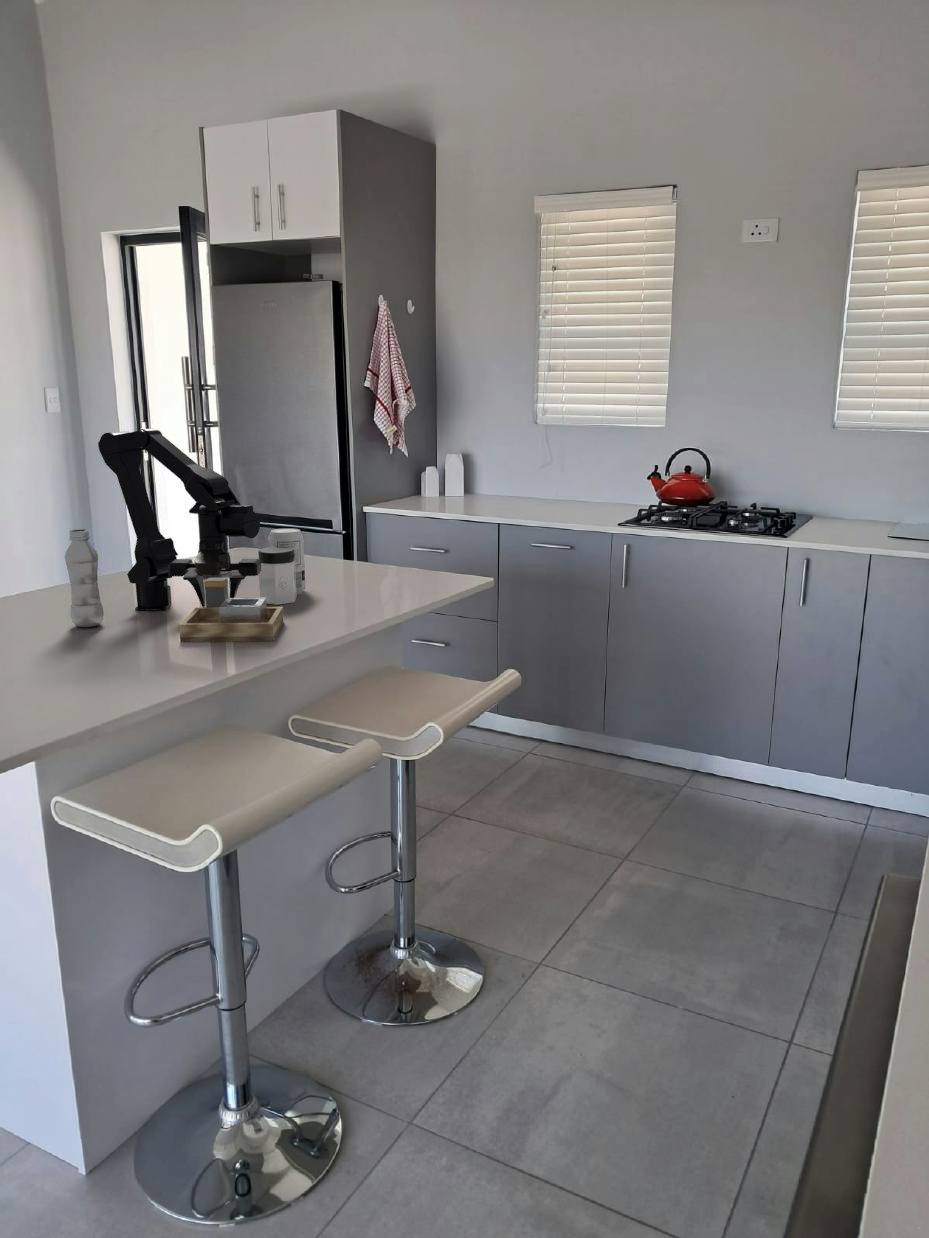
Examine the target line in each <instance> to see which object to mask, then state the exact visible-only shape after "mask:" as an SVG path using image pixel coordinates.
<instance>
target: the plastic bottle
mask: <svg viewBox="0 0 929 1238" xmlns="http://www.w3.org/2000/svg"><path fill="white" fill-rule="evenodd" d="M89 540H90V533H89V529H86V528H77V529H74V528H73V529H70V530H69V541H70V544H69V546H68V547H67V549H66V551H65V554H64V560H65V565H66V569H67V573H68V578H69V583H70V596H71V597H70V601H71V602H70V613H69V615H70V619H71V623H72V624H73V625H75V627H81V628H91V627H95V626H99V625H101V624H102V623H103V621H104V616H105V615H104V614H105V611H104V606H103V603H102V602H101V596H100V590H99V583H98V581H99V580H98V579H99V577H98V570H99V554H98V552H97V550H96V548H95V547H94V546H93V545H92V543H90V542H89Z"/></svg>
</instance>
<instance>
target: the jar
mask: <svg viewBox="0 0 929 1238" xmlns="http://www.w3.org/2000/svg"><path fill="white" fill-rule="evenodd" d="M257 553H258V559H259V560H260V562H261V572H260V573H259V574H258V582H259V598H266V602H267V604H268V605H273V606H274V605H275V606H277V605H283V604H285V605H286V604H291V603H292V604H293V603H295V601H296V600H297V595H298V594H297V592H296V568H295V555H294V549H293V548H289V547H269V546H267V547H264V548H260V549H259V550H258V551H257Z"/></svg>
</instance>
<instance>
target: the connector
mask: <svg viewBox="0 0 929 1238" xmlns="http://www.w3.org/2000/svg"><path fill="white" fill-rule="evenodd" d="M228 582H229V580H228V577H208V578H207V579H206V580H205V581H203V583H204V592H205V608H216V607H220V605H221V604H222V603H223V602H224V601H225V600H226V599H227V598H229V587H228V586H229V585H228V584H229V583H228Z"/></svg>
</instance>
